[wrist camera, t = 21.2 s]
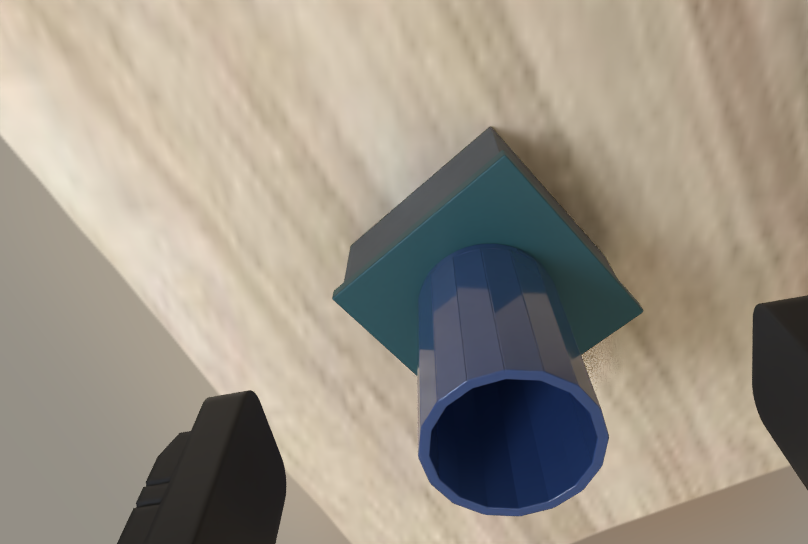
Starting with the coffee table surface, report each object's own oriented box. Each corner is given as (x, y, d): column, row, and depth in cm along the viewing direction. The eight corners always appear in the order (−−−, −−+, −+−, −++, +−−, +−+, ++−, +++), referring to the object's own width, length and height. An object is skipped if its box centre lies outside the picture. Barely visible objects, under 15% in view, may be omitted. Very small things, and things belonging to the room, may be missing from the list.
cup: (497, 215, 32) (530, 335, 23) (583, 310, 34) (644, 453, 25) (388, 300, 34) (380, 442, 25) (477, 384, 36) (498, 542, 27)
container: (491, 117, 36) (505, 154, 30) (613, 257, 39) (644, 312, 34) (342, 245, 39) (331, 299, 34) (466, 363, 43) (474, 428, 37)
